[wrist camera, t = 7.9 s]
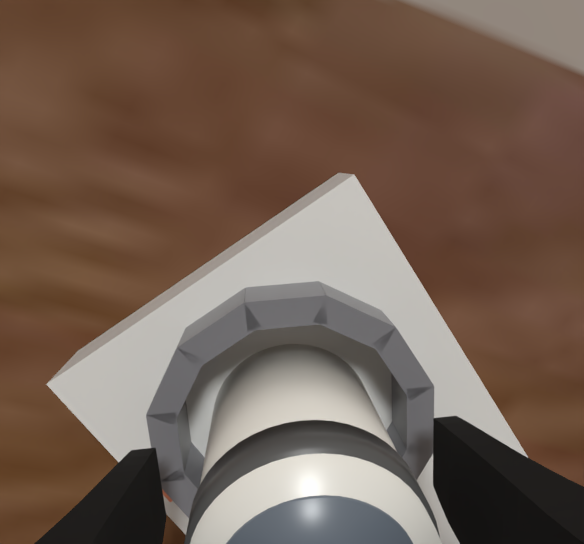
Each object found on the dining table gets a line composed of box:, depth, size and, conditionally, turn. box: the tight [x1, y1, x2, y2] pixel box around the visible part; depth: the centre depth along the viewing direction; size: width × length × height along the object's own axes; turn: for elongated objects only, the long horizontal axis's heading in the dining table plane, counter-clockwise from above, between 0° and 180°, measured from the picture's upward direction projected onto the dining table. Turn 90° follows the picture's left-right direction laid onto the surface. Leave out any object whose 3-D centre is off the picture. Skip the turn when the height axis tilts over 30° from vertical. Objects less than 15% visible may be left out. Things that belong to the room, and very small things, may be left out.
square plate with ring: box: [47, 173, 528, 544], centre depth 16 cm, size 18×11×4 cm, turn 34°
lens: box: [184, 344, 442, 544], centre depth 11 cm, size 5×5×6 cm
